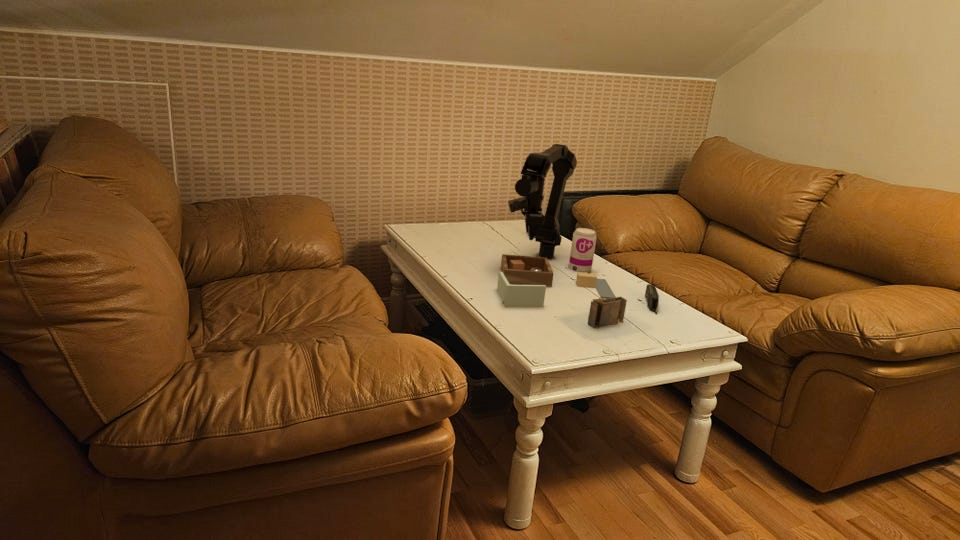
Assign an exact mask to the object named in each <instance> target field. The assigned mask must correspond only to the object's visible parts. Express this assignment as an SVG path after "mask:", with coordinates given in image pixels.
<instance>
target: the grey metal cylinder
mask: <svg viewBox="0 0 960 540" xmlns="http://www.w3.org/2000/svg"><path fill="white" fill-rule="evenodd" d="M531 271H541V272H542V269H540V268H536V267H534V268H531Z"/></svg>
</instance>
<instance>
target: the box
mask: <svg viewBox="0 0 960 540" xmlns="http://www.w3.org/2000/svg"><path fill="white" fill-rule="evenodd" d="M510 260H521V261H522V262H523V263H524V264H525V265H524V270H515V269H509V263H510ZM534 267H536V268H540V269H542V272H541V271H531V268H534ZM500 271H501V272H503V274H504V275H505V277H506V279H507V280H508V282H509V284H510V285H546V288H553V282H554V281H553V280H554V271H553V269H552V266H551V263H550V260H548V258H544V257H539V256H529V255H528V256H527V255H520V254H519V255H518V254H517V255H516V254H505V253H502V254H501V263H500Z"/></svg>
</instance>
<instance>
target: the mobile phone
mask: <svg viewBox="0 0 960 540" xmlns="http://www.w3.org/2000/svg"><path fill="white" fill-rule="evenodd" d="M644 297H645V300H646V302H647V308H648V309H649V310H651V311H654V313H655V314H658V313H659V312H658V311H657V310H658V306H659V300H660V296H659V293H658V289H657V288H656V286H655V285H653V284H650V283H647V284H646V289H645V294H644Z"/></svg>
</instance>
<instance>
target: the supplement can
mask: <svg viewBox="0 0 960 540" xmlns="http://www.w3.org/2000/svg"><path fill="white" fill-rule="evenodd" d="M596 245H597V234H596V231H595V230H594V229H591V228H587V227H586V228H585V227H578V228H576V229H575V230H574V232H573V233H572V241H571V247H570V254H569V261H568V269H569V270H571V271H573V272H576V273H588V274H590V272H591V271H592V270H593V269H592V267H593V261H594V257H595V256H594V255H595V249H596Z"/></svg>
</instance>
